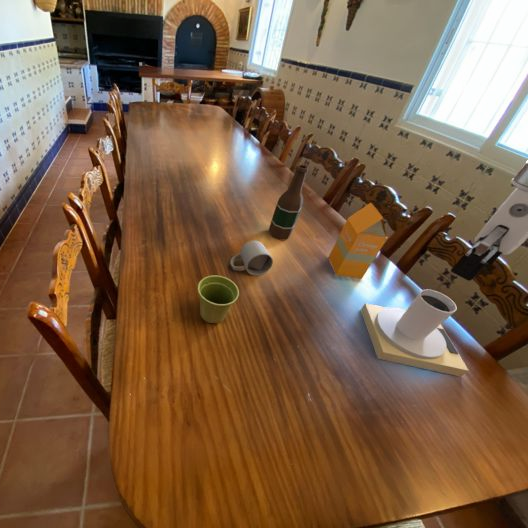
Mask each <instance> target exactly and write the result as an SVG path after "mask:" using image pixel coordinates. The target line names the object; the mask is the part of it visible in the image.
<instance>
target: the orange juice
mask: <svg viewBox="0 0 528 528" xmlns="http://www.w3.org/2000/svg"><path fill="white" fill-rule="evenodd" d="M387 240H388V236H387V232H386V226H385V221H384V217H383V215H382V214H381V213H380V212H379V210H378V209H377V208H376V207H375V205H374V204H373V203H372V202H369V203H367V204H366V205H364V206H363V207H362V208H361V209H358V210H357V211H356V212H355V213H353V214H351V215H350V216H349V217H347V219H346V221H345V223H344V225H343V227H342V229H341V231H340V233H339V235H338V237H337V238H336V241H335V243H334V245H333V247H332V249H331V251H330V253H329V255H328V260H329V263H330V265H331V267H332V269H333V272H334V274H335V276H338V277H339V276H340V277H347V278H353V279H360V280H363V277H364V276H365V275H366V274H367V271H368V270H369V268H370V267H371V265H372V264H373V262H374V261H375V259H376V258H377V256H378V255H379V253H380V251H381V249H382V248H383V246H384V245H385V243H386V242H387Z"/></svg>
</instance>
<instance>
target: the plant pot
mask: <svg viewBox="0 0 528 528" xmlns="http://www.w3.org/2000/svg"><path fill="white" fill-rule="evenodd" d="M197 292H198V295H199V298H200V299H199V314H200V317H201V318H202V320H203V321H205V322H206V323H209V324H220V323H222V322H223V321H224V320H225V318H226V316H227V314H228V313H229V311H230V308H231V306H232V305H233V304H234V303H236V301H237V300H238V298H239V296H240V290H239V287H238V286H237V284H236V283H235V282H234V281H232V280H231V279H230V278H228V277H226V276H222V275H215V274H214V275H208V276H205V277H203V278H202V279H200V281H199V282H198V284H197Z"/></svg>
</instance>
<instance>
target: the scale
mask: <svg viewBox="0 0 528 528" xmlns="http://www.w3.org/2000/svg"><path fill="white" fill-rule="evenodd" d="M406 310H407V309H405V308H400V307H392V306H391V307H386V306H381V305H375V304H370V303H367V302H365V303H363V306H362V307H361V308H360V312H361V315H362V317H363V320H364V323H365V326H366V329H367V331H368V334H369V335H368V336H369V338H370V340H371V343H372V347H373V349H374V352H375V355H376V357H377V359H378V360H382V361H386V362H387V361H388V362H392V363H396V364H400V365H405V366H408V367H409V366H410V367H413V368H414V367H415V368H419V369H424V370H429V371H432V372H438V373H442V374H446V375H451V376H456V377H460V378H461V377H463V376H464V375H466V374H467V373H468V372H469V371H470V370H469V368H468V367H467V365H466V364H465V361H464V360H463V359H462V357H461V355H460V354H459V351H458V350H457V349H456V347H455V345H454V343H453V341H452V340H451V338H450V337H449V335H448V333H447V332H446V330H445V328H444V326H443V325H442V323H441V324H440V325H439V326H438V327H437V328H436V329H435V330H434V331H432V332H431V333H430V334H429V335H428V336H427V337H426V338H424V339H423V340H420V341H417V340H413V339H410V338H408V337H406V336H405V335H403V334H402V333H401V332H400V331H399V330H398V328H397V322H398V321H399V320H400V318H401V317H402V316H403V314H404V313H405V312H406Z"/></svg>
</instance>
